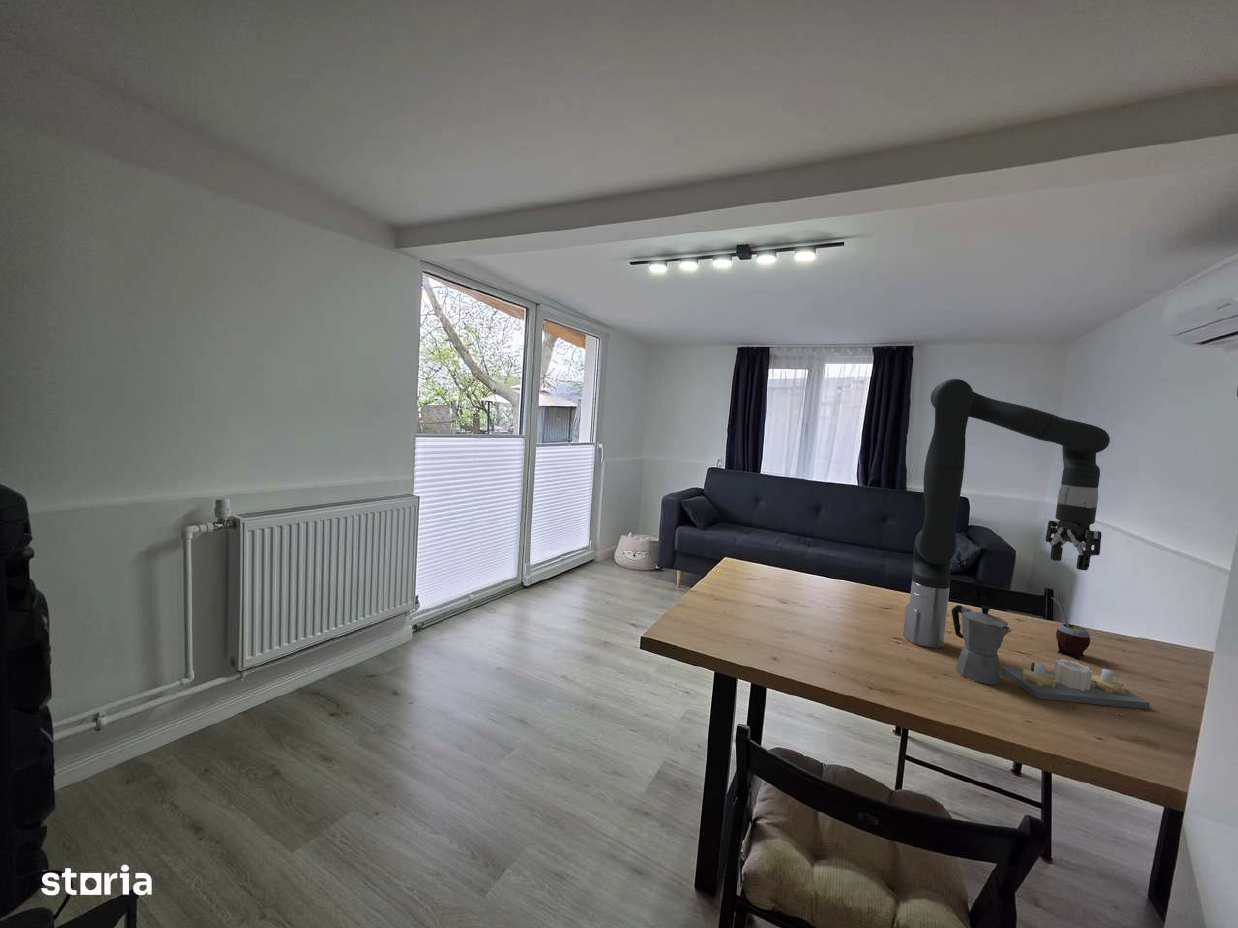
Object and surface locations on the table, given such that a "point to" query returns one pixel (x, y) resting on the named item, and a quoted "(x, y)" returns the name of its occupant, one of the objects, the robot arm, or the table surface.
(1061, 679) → the ivory gear
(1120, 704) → the gear board
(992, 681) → the coffeepot
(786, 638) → the table surface
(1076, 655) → the mate gourd
